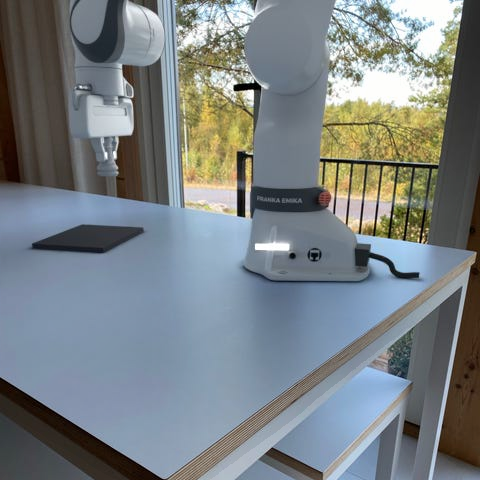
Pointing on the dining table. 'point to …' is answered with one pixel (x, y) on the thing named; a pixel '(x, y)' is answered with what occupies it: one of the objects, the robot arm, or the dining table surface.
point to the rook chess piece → (108, 166)
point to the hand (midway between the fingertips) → (107, 160)
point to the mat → (89, 238)
